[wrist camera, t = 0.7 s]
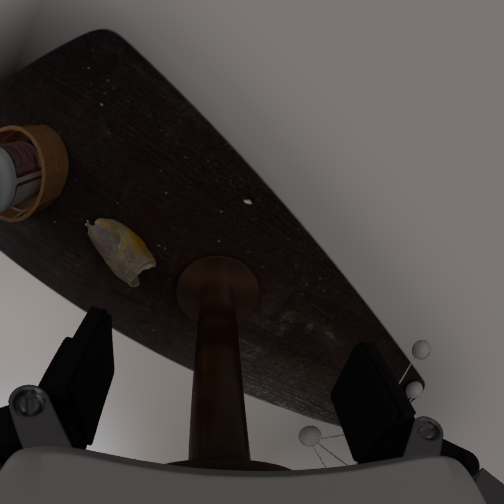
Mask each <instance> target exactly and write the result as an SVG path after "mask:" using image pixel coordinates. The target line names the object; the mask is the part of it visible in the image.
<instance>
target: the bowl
mask: <svg viewBox="0 0 504 504" xmlns="http://www.w3.org/2000/svg"><path fill="white" fill-rule="evenodd" d="M29 139H31V141H32V142H33V144H34V145H35V147H36V148H37V152H38V155H39V158H40V161H41V170H42V180H41V187H40V192H39V194H37V195H35V196H33V197H31V198H29V199H27V200H24V201H22V202H20V203H18V204H16V205H14V206H12V207H10V208H9V209H7V210H5V211H3V212H1V213H0V219H2V220H4V221H7V222H20V221H22V220H24V219H25V218H27V217H29V216H31V215H32V214H34V213H36V212H38V211H39V210H41V209H43V208H45V207H47V206H48V205H50V204H52V203H53V202H54V201H55V200H56V199H57V198H58V196H59V195H60V194H61V192H62V190H63V187H64V185H65V183H66V179H67V175H68V168H69V161H68V154H67V150H66V147H65V145H64V143H63V141H62V139H61V138H60V136H59V135H58V134H57V133H56V132H55V131H54V130H53V129H51V128H50V127H48V126H46V125H42V124H21V125H10V126H6V127H3V128H0V145H1V144H6V143H11V142H17V141H23V140H29Z"/></svg>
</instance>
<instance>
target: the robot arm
mask: <svg viewBox="0 0 504 504" xmlns="http://www.w3.org/2000/svg"><path fill="white" fill-rule="evenodd" d="M113 375H114V356H113V342H112V318H111V315H110V314H107V311H106V310H105V309H100V308H96V307H91V308H90V309H89V311H88V313H87V314H86V316H85V318H84V319H83V321H82V323H81V325H80V326H79V328H78V330H77V331H76V333H75V335H74V336H73V338H70V337H66V338H65V339H64V340H63V342H62V344H61V346H60V347H59V349H58V351H57V353H56V354H55V356H54V358H53V359H52V361H51V363H50V365H49V367H48V369H47V370H46V372H45V374H44V376H43V378H42V380H41V381H40V383H39V385H38V386H35V385H23V386H21V387H18V388H17V389H15V390H14V391H13V392H12V394H11V395H10V397H9V401H8V402H9V405H8V406H4V407H1V408H0V504H504V484H502V483H501V482H500V481H499V480H497V479H496V478H495V477H494V476H492V475H491V474H490V473H489V472H487V471H486V470H485V469H484V468H482V469H481V470H479V461H478V459H477V458H476V456H475V455H474V454H473V453H471V452H470V451H467V450H465V449H463V448H461V447H459V446H457V445H455V444H453V443H451V442H449V441H446V440H444V439H443V430H442V427H441V426H440V425H439V423H438V422H436V421H435V420H433V419H432V418H429V417H424V416H422V417H418V418H417V419H415V418H414V415H415V414H416V412H415V410H414V408H413V407H412V405H411V403H410V402H409V400H408V398H407V396H406V395H405V393H404V391H403V390H402V388H401V386H400V385H399V383H398V381H397V380H396V378H395V376H394V375H393V373H392V371H391V370H390V368H389V366H388V365H387V363H386V362H385V360H384V358H383V357H382V355H381V354H380V352H379V350H378V349H377V347H376V346H375V344H374V343H370V342H360V343H358V345H356V346H354V348H353V350H352V352H351V354H350V356H349V358H348V360H347V362H346V364H345V366H344V368H343V370H342V372H341V374H340V376H339V378H338V380H337V382H336V384H335V385H334V387H333V389H332V391H331V400H332V402H333V405H334V408H335V410H336V413H337V416H338V419H339V421H340V424H341V427H342V429H343V432H344V435H345V438H346V440H347V443H348V446H349V449H350V451H351V454H352V457H353V459H354V461H356V462H357V463H358V464H356V465H349V466H341V467H331V468H321V469H307V470H289V471H235V470H216V469H203V468H192V467H183V466H175V465H167V464H160V463H154V462H147V461H141V460H136V459H130V458H125V457H120V456H115V455H110V454H105V453H100V452H95V451H90V450H86V447H87V445H92V443H93V440H94V436H95V433H96V430H97V426H98V423H99V419H100V416H101V413H102V409H103V406H104V403H105V400H106V397H107V394H108V391H109V388H110V385H111V381H112V379H113Z"/></svg>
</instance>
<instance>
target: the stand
mask: <svg viewBox="0 0 504 504" xmlns="http://www.w3.org/2000/svg"><path fill="white" fill-rule="evenodd" d="M176 296H177V300H178V303H179V306H180V308H181V309H182V311H183V312H184V313H185V314H186V316H187V317H189V318H190V319H191V320H192V321H194V322H196V323H198V328H197V339H196V350H195V362H194V376H193V389H192V403H191V420H190V437H189V459H188V460H186V461H179V462H172V463H167V465H175V466H183V467H192V468H203V469H216V470H235V471H289V470H291V469H288V468H286V467H283V466H279V465H276V464H271V463H266V462H259V461H251V459H250V451H249V441H248V432H247V423H246V413H245V404H244V393H243V383H242V373H241V362H240V352H239V341H238V330H237V324H239V323H241V322H242V321H244V320H245V319H246V318H248V317H249V316H250V315H251V313H252V312H253V311H254V309H255V308H256V305H257V303H258V300H259V285H258V281H257V278H256V275H255V273H254V271H253V270H252V269H251V267H250V266H249V265H248V264H247V263H246V262H244V261H243V260H242V259H240V258H238V257H236V256H234V255H231V254H227V253H217V252H216V253H208V254H204V255H201V256H199V257H197V258H195V259H193V260H192V261H190V262H189V263H188V264H187V265H186V266H185V267H184V269H183V270H182V272H181V274H180V276H179V279H178V282H177V287H176Z"/></svg>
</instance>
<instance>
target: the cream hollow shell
mask: <svg viewBox="0 0 504 504" xmlns="http://www.w3.org/2000/svg"><path fill="white" fill-rule="evenodd" d="M95 223H96V224H95V225H93V226H92V225H90V223H89V221H88V220H87V223H85V225H86V226H87V228H88V233H87V234H88V235H89V237H90V239H91V241H92V243H93V244H94V246H95V247H96V249H97V250H98V252H99V253H100V255H101V256H102V257H103V258H104V260H105V262H106V263H107V265H108V266H109V267H110V268H111V270H112V271H113V272H114V274H115V275H116V276H117V277H119V278H120V279H122V280H123V281H124V282H126V283H128V285H130V286H131V287H137V286H139V284H140V282H139V278H138V275H137V274H140V273H141V271H142V270H143V269H148V268H149V269H150V267H155V265H156V261H155V259H154V257H153V255H152V254H151V252H150V251H149V250H148V248H147V246H146V244H145V243H144V241H143V240H142V239H141V238H140V237H139V236H138V235H136V234H135V233H134V232H133V231H132V230H131V229H129V228H128V227H126V226H125V225H124V224H122V223H120V222H118V221H116V220H112V219H104V218H100V219H98V220H96V221H95Z"/></svg>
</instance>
